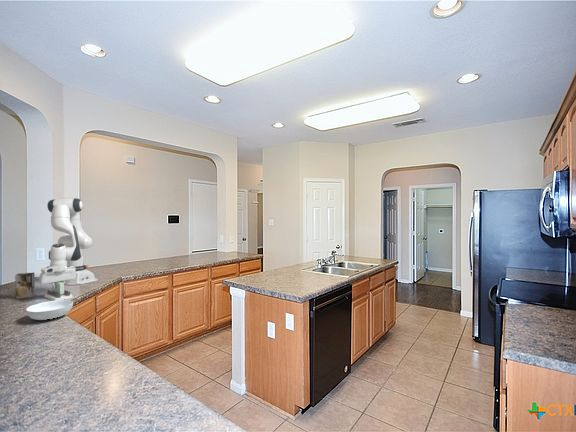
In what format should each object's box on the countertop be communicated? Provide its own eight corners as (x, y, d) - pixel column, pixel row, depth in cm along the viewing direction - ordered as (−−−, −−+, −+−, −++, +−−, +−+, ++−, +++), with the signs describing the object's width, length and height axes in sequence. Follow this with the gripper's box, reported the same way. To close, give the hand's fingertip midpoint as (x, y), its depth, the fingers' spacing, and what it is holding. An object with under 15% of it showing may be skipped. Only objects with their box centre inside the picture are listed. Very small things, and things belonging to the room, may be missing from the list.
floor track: (61, 293, 211) (61, 287, 211) (72, 297, 202) (72, 291, 202) (44, 297, 202) (44, 290, 202) (55, 301, 193) (55, 294, 193)
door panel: (56, 290, 206) (56, 280, 206) (64, 293, 200) (64, 283, 199) (52, 291, 204) (52, 281, 204) (59, 294, 198) (59, 283, 197)
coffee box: (35, 294, 207) (35, 272, 207) (32, 297, 201) (32, 274, 201) (18, 296, 203) (18, 273, 202) (14, 299, 197) (14, 275, 197)
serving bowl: (67, 308, 182) (67, 297, 181) (78, 316, 168) (78, 304, 168) (22, 317, 165) (22, 305, 165) (30, 327, 152) (30, 314, 152)
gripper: (73, 265, 212) (73, 284, 212) (38, 269, 194) (38, 290, 195) (77, 266, 209) (77, 285, 209) (41, 270, 191) (41, 291, 191)
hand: (58, 287), depth 202 cm, fingers closed on door panel, 2 cm apart
